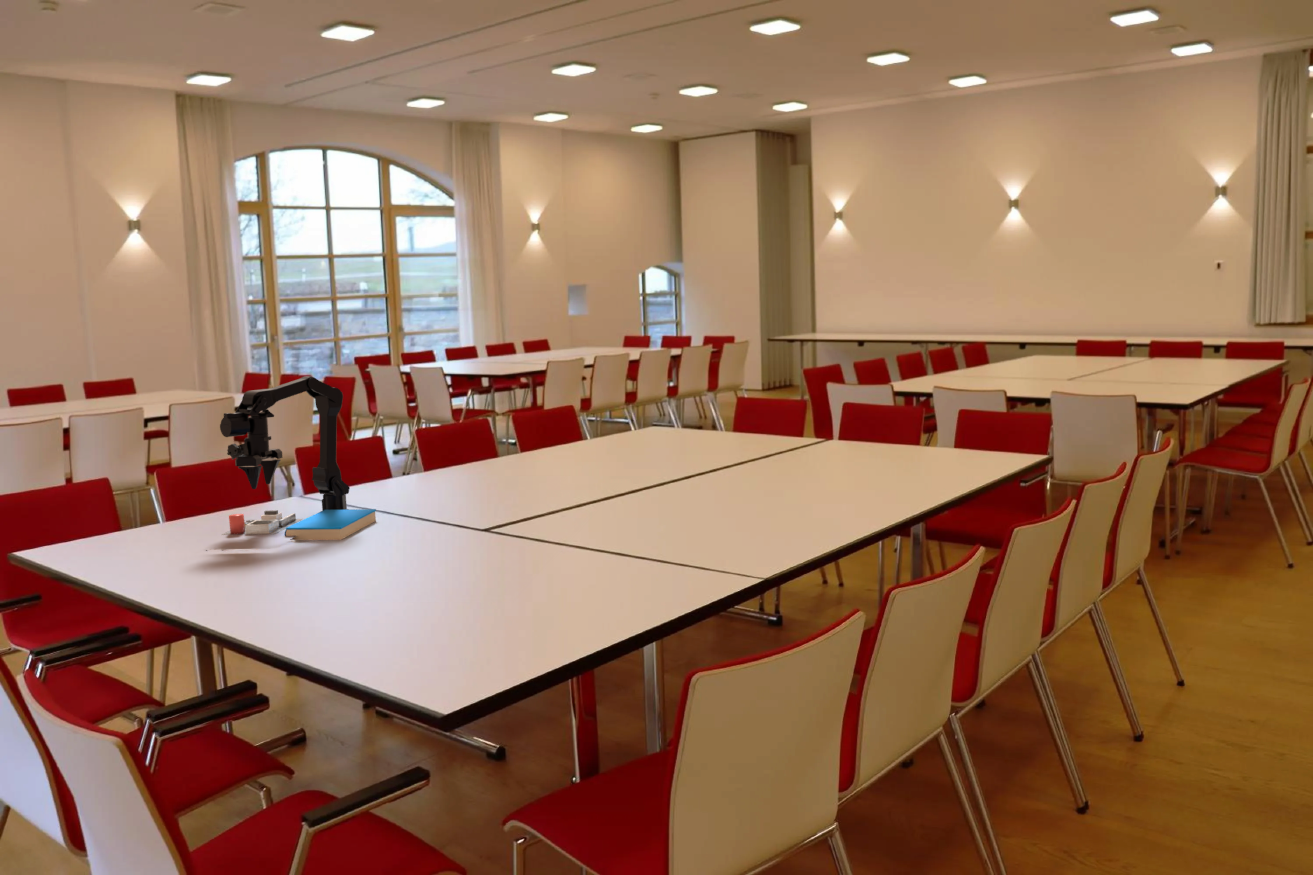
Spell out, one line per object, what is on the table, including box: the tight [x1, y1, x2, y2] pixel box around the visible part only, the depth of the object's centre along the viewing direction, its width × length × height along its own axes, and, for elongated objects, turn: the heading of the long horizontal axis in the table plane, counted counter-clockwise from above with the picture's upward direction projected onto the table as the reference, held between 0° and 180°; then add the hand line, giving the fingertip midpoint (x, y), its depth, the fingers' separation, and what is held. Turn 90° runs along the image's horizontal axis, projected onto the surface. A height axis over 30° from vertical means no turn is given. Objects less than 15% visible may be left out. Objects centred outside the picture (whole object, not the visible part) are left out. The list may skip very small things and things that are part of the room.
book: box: [284, 508, 377, 541], centre depth 315 cm, size 17×4×25 cm
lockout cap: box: [228, 513, 245, 534], centre depth 311 cm, size 4×4×5 cm
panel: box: [221, 512, 303, 536], centre depth 317 cm, size 16×20×4 cm
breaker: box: [260, 509, 283, 520], centre depth 318 cm, size 4×4×4 cm
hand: (261, 486), depth 318 cm, fingers open, 9 cm apart
